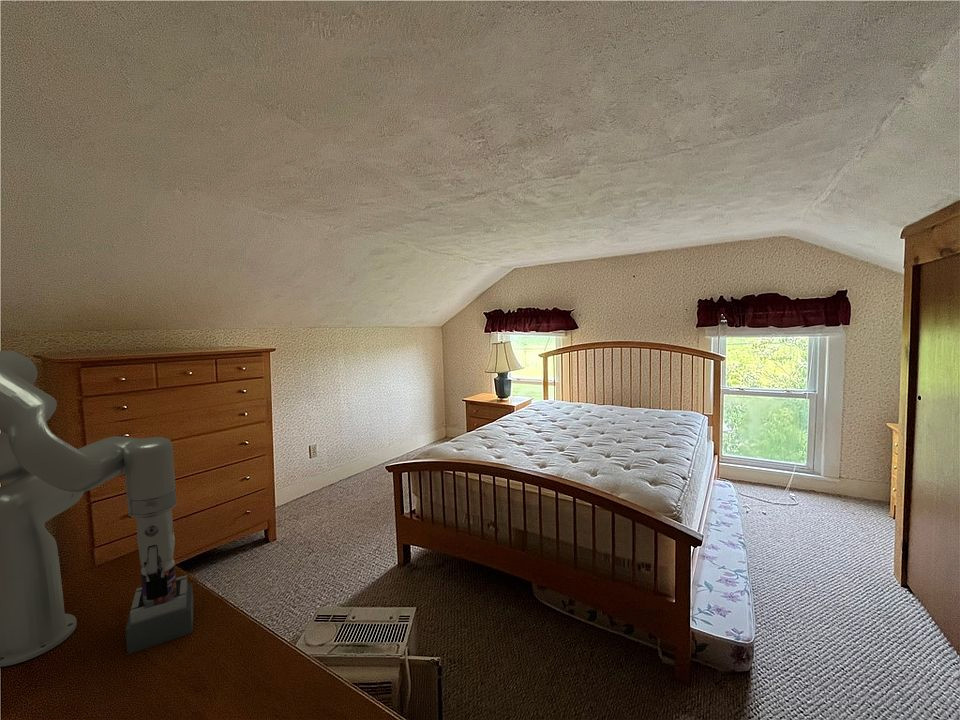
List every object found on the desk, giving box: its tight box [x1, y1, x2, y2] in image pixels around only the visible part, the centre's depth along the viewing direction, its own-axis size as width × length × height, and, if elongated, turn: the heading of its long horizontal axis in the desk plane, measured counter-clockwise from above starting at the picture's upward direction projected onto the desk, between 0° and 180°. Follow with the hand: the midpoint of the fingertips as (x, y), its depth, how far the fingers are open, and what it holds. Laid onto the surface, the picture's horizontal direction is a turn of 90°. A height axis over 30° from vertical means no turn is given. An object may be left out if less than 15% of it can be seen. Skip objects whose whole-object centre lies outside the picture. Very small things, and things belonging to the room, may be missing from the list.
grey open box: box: [125, 574, 195, 655], centre depth 85 cm, size 10×10×8 cm
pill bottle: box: [140, 557, 177, 606], centre depth 84 cm, size 5×5×10 cm
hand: (159, 587), depth 85 cm, fingers closed on pill bottle, 5 cm apart
